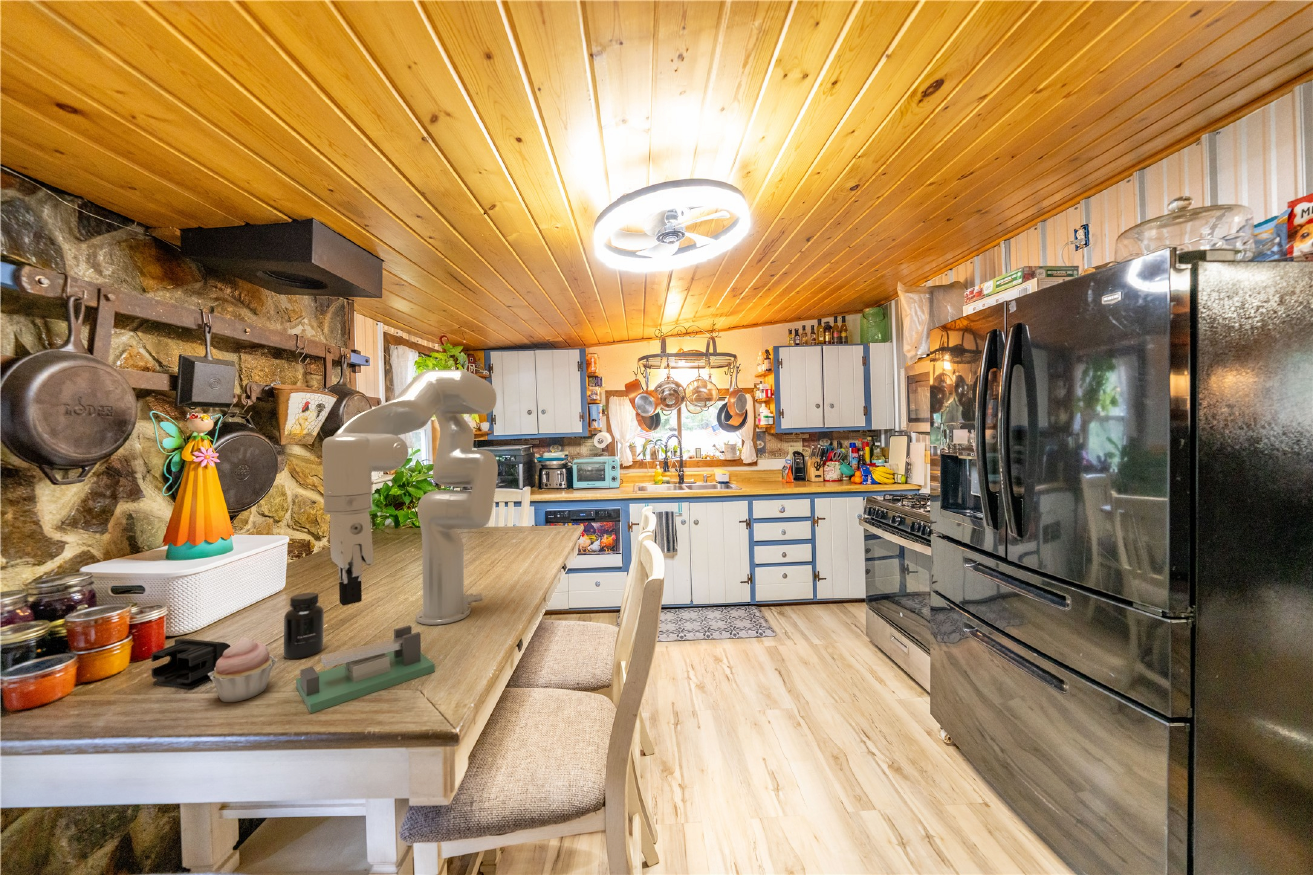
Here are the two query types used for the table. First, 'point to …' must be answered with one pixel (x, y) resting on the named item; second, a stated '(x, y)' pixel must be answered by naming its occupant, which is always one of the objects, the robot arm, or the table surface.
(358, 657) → the grey long bar
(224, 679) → the cupcake
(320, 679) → the board
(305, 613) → the supplement bottle
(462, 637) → the table surface
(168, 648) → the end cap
